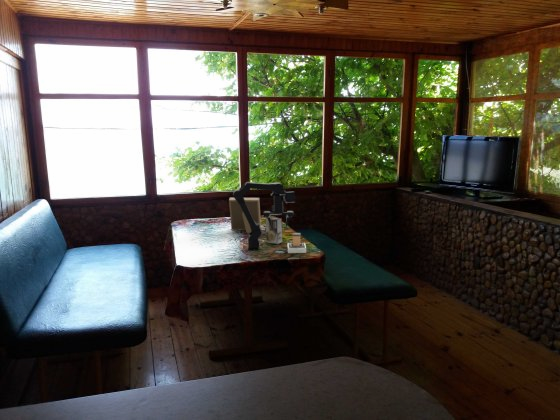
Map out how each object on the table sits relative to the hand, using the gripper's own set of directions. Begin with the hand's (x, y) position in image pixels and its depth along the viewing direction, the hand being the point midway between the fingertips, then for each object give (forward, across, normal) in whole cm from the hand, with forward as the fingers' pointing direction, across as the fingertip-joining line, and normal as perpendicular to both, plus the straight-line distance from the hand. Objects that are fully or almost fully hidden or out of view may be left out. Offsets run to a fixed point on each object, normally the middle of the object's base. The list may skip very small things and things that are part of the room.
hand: (278, 227), depth 265 cm
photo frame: (+13, +25, -46) cm, 54 cm away
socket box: (+13, -11, +7) cm, 18 cm away
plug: (+12, -11, +7) cm, 18 cm away
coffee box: (+13, +3, -13) cm, 19 cm away
